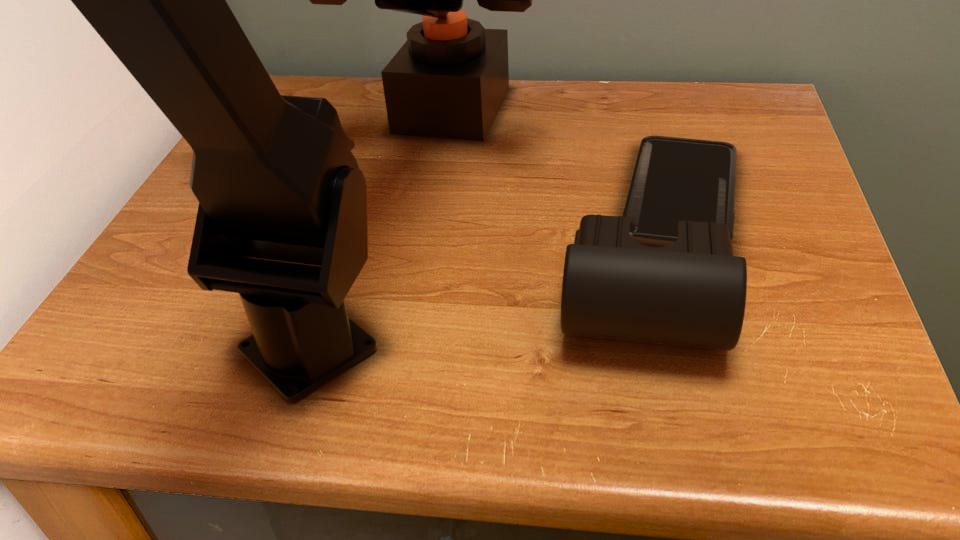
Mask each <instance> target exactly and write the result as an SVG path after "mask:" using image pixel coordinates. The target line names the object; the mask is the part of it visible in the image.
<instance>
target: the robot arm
mask: <svg viewBox="0 0 960 540" xmlns="http://www.w3.org/2000/svg"><path fill="white" fill-rule="evenodd" d="M70 1H71V2H72V4H73V5H74V6H75V7H76V9H77V10H78V11H79V12H80V14H81V15H82V16H83V17H84V18H85V20H86V21H87V22H88V23H89V24H90V26H91V27H92V28H93V29H94V31H95V32H96V33H97V34H98V35H99V36H100V39H102V40H103V41H104V43H105V44H106V45H107V46H108V48H109V49H110V50H111V51H112V53H113V54H114V55H115V56H116V57H117V59H118V60H119V61H120V63H122V65H123V66H124V67H125V68H126V69H127V71H128V72H129V73H130V75H131V76H132V77H133V78H134V79H135V81H136V82H137V83H138V85H140V87H141V88H142V89H143V90H144V92H145V93H146V94H147V95H148V96H149V98H150V99H151V100H152V101H153V103H154V104H155V105H156V106H157V107H158V108H159V110H160V111H161V112H162V114H163V115H164V116H165V117H166V118H167V119H168V122H170V123H171V125H173V127H174V128H175V129H176V130H177V132H178V134H180V135H181V137H182V138H183V139H184V140H185V142H186V143H187V144H188V145H189V146H190V148H191V150H192V162H191V169H190V178H189V187H190V189H191V191H192V193H193V195H194V197H195V198H196V199H197V201H198V207H197V213H196V218H195V222H194V228H193V234H192V239H191V244H190V245H191V246H190V251H189V256H188V257H189V258H188V263H187V269H186V271H187V274H188V276H189V277H190V278H191V279H192V280H193V281H194V282H195V283H196V285H198V287H199V288H200V289H201V290H203V291H208V292H212V291H220V292H229V293H236V294H238V295H239V297H240V300H241V304H242V306H243V309H244V312H245V315H246V318H247V320H248V323H249V327H250V330H251V332H252V335H250V336H248V337H246V338H244V339H242V340H241V341H239V343H238V344H237V348H238V352H239V353H240V355H242V356H243V358H245V360H247V362H248V363H249V364H251V366H252V367H253V368H254V369H255V370H256V371H257V372H258V373H259V374H260V375H261V376H262V377H263V378H264V379H265V380H266V382H268V383H269V384H270V385H271V386H272V387H273V388H274V390H276V391H277V392H278V393H279V394H280V395H281V396H282V398H284V399H285V400H286V401H287V402H291V403H295V402H297V401H298V400H301V399H302V398H303V397H305V396H307V395H308V394H310V393H311V392H313V391H314V390H316V389H317V388H319V387H321V386H322V385H324V384H325V383H327V382H328V381H330V380H331V379H333V378H335V377H337V376H338V375H340V374H341V373H343V371H345V370H347V369H349V368H350V367H352V366H353V365H355V364H356V363H358V362H360V361H361V360H363V359H364V358H366V357H367V356H369V355H371V354H372V353H374V352H375V351H376V350H377V347H378V346H377V340H376V339H375V338H374V337H373V336H372V335H370V334H369V333H368V332H366V331H365V330H364V329H363V328H362V327H360V326H359V325H358V324H357V323H356V322H354V321H353V320H352V319H351V318H349V316H348V312H347V306H346V302H345V299H346V297H347V296H348V293H349V291H350V290H351V289H352V287H353V285H354V283H355V282H356V280H357V278H358V276H359V275H360V274H361V271H362V270H363V268H364V266H365V265H366V263H367V262H368V258H369V245H368V244H369V240H368V237H369V236H368V235H369V234H368V233H369V232H368V231H369V230H368V189H367V187H368V186H367V181H366V177H365V174H364V172H363V171H362V170H361V169H360V167H359V164H358V161H357V159H356V157H355V156H354V154H353V153H352V151H353V149H354V148H355V143H356V142H355V141H354V140H353V139H351V137H349V136H348V134H347V133H346V132H345V130H344V127H343V124H342V121H341V119H340V116H339V113H338V110H337V109H336V108H335V106H333V104H331V102H330V101H329V100H328V99H327V98H325V97H316V96H315V97H314V96H298V95H285V94H281V93H280V92H279V89H278V87H276V85H275V83H274V81H273V79H272V78H271V76H270V75H269V73H268V71H267V69H266V67H265V65H264V63H263V62H262V61H261V59H260V57H259V55H258V53H257V52H256V50H255V49H254V47H253V45H252V43H251V42H250V40H249V38H248V36H247V35H246V33H245V31H244V29H243V28H242V26H241V24H240V23H239V21H238V20H237V17H236V16H235V14H234V12H233V11H232V9H231V6H230V5H229V3H228V1H226V0H70ZM308 1H309V2H310V3H311V4H312V5H322V6H323V5H325V6H326V5H327V6H342V5H344V4H345V3H346V2H347V1H348V0H308ZM476 2H477V4H478V6H479V7H480V8H483V9H485V10H487V11H490V12H504V13H505V12H508V13H525V12H526V11H527V10H528V9H530V7H532V6H533V0H476ZM374 4H375V6H376V7H377V8H378V9H380V10H389V11H394V12H401V13H408V14H412V15H420V16H423V15H424V16H430V17H435V18H447V17H448V13H449V12H458V11H459V10H462V8H463V6H464V0H374Z"/></svg>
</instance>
